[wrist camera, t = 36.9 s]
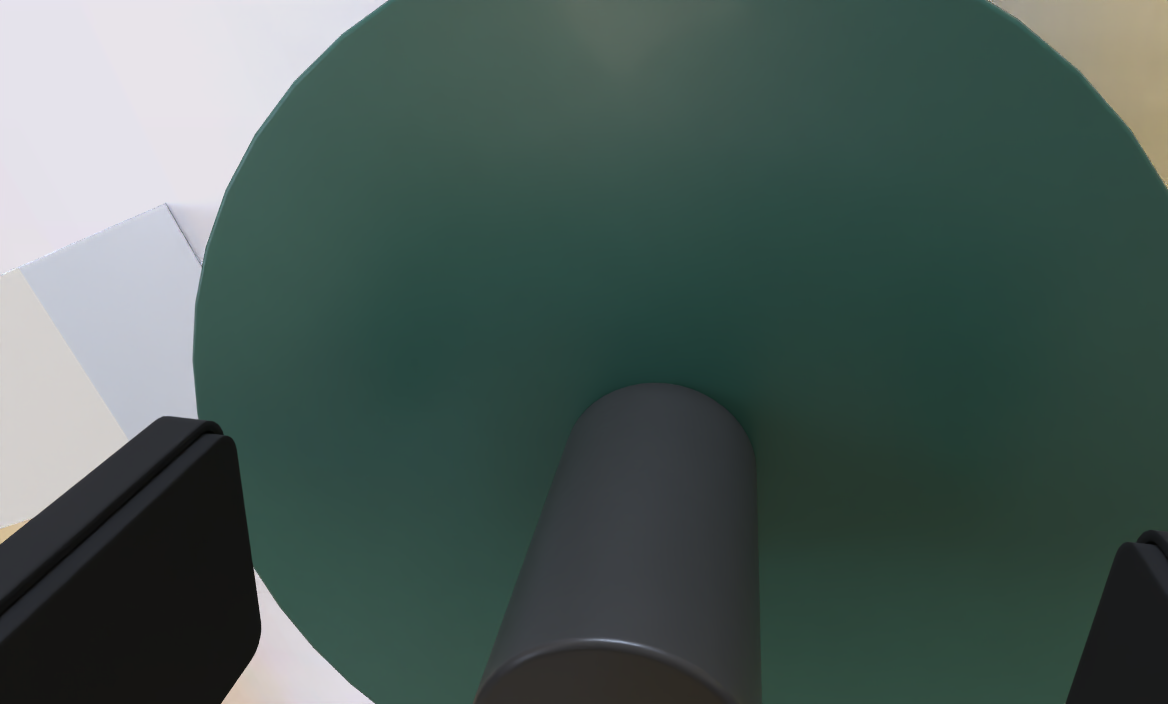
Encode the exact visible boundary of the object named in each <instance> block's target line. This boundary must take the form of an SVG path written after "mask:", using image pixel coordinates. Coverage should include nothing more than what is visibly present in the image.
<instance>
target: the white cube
mask: <svg viewBox="0 0 1168 704" xmlns="http://www.w3.org/2000/svg"><path fill="white" fill-rule="evenodd" d="M201 270H202V267H201V265H200V264H199V262H198V260H197V258H196V256H195V255H194V253H193V251H192V249H191V248H190V246H189V244H188V242H187V241H186V239H185V237H184V235H183V234H182V232H181V230H180V228H179V227H178V225H177V223H176V221H175V220H174V218H173V216H172V214H171V213H170V211H169V209H168V207H167V206H166V204H163V205H160V206H158V207H156V208H153V209H151V210H149V211H146V212H144V213H142V214H140V215H137V216H135V217H133V218H130V219H128V220H126V221H123V222H121V223H119V224H117V225H114V226H112V227H110V228H107V229H105V230H103V231H100V232H98V233H96V234H94V235H91V236H89V237H87V238H84V239H82V240H80V241H77V242H75V243H73V244H71V245H68V246H66V247H64V248H61V249H59V250H57V251H54V252H52V253H50V254H48V255H45V256H43V257H41V258H38V259H36V260H34V261H31V262H29V263H27V264H24V265H22V266H20V267H18V268H15V269H13V270H11V271H8V272H6V273H4V274H2V275H0V529H1V528H4V527H7V526H10V525H13V524H16V523H20V522H23V521H26V520H29V519H32V518H34V517H35V516H36V515H38V514H39V513H40V512H41V511H43V510H44V509H45V508H46V507H48V506H49V505H50V504H51V503H53V502H54V501H55V500H56V499H58V498H59V497H60V496H61V495H63V494H64V493H65V492H66V491H68V490H69V489H70V488H71V487H73V486H74V485H75V484H76V483H78V482H79V481H80V480H81V479H83V478H84V477H85V476H86V475H88V474H89V473H90V472H91V471H93V470H94V469H95V468H96V467H98V466H99V465H100V464H101V463H103V462H104V461H105V460H106V459H108V458H109V457H110V456H111V455H113V454H114V453H115V452H116V451H118V450H119V449H120V448H121V447H123V446H124V445H125V444H126V443H128V442H129V441H130V440H131V439H133V438H134V437H135V436H136V435H138V434H139V433H140V432H141V431H143V430H144V429H145V428H146V427H147V426H149V425H150V424H151V423H152V422H154V421H155V420H157V419H158V418H160V417H162V416H174V417H182V418H191V419H198V415H197V406H196V395H195V384H194V373H193V362H192V356H193V335H194V313H195V301H196V296H197V291H198V285H199V280H200V275H201Z"/></svg>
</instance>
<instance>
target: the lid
mask: <svg viewBox="0 0 1168 704" xmlns="http://www.w3.org/2000/svg"><path fill="white" fill-rule="evenodd" d="M192 362H193V373H194V384H195V395H196V406H197V415H198V419H200V420H208V421H214V422H216V423H217V424H219V426H220V427H221V429H222V431H223V434H224V435H226V436H229V437H231V438H232V439H233V440H234V442H235V444H236V448H237V454H238V461H239V469H240V476H241V483H242V490H243V497H244V504H245V511H246V519H247V526H248V533H249V540H250V547H251V554H252V562H253V567H254V569H255V570H256V572H257V573H258V575H259V576H260V578H261V579H262V581H263V582H264V584H265V585H266V587H267V588H268V590H269V592H270V593H271V595H272V596H273V598H274V599H275V601H276V602H277V604H278V605H279V607H280V608H281V609H282V610H283V612H284V613H285V614H286V615H287V616H288V618H289V619H290V620H291V621H292V622H293V624H294V625H295V626H296V627H297V629H298V630H299V631H300V632H301V633H302V635H303V636H304V637H305V638H306V639H307V641H308V642H309V643H310V644H311V645H312V647H313V648H314V649H315V650H316V651H317V652H318V653H319V654H320V655H321V656H322V657H323V658H325V659H326V660H327V661H328V662H329V663H330V664H331V665H332V666H333V667H334V668H335V669H336V670H337V671H338V672H339V673H340V674H341V675H342V676H343V677H344V678H345V679H346V680H347V681H348V682H349V683H350V684H351V685H353V686H354V687H355V688H356V689H358V690H359V691H360V692H361V693H363V694H364V695H365V696H366V697H368V698H369V699H370V700H371V701H373V702H374V703H375V704H1065V703H1066V700H1067V697H1068V694H1069V691H1070V688H1071V685H1072V682H1073V679H1074V676H1075V673H1076V671H1077V668H1078V665H1079V662H1080V659H1081V656H1082V653H1083V650H1084V647H1085V644H1086V641H1087V638H1088V635H1089V632H1090V629H1091V626H1092V623H1093V620H1094V617H1095V614H1096V611H1097V608H1098V605H1099V602H1100V599H1101V596H1102V593H1103V590H1104V587H1105V584H1106V581H1107V578H1108V575H1109V572H1110V569H1111V566H1112V563H1113V560H1114V557H1115V555H1116V552H1117V550H1118V548H1119V547H1120V546H1121V545H1122V544H1123V543H1125V542H1135V543H1136V541H1137V539H1138V538H1139V537H1140V535H1141V534H1142V533H1143V532H1145V531H1148V530H1158V531H1167V532H1168V189H1167V187H1166V186H1165V184H1164V183H1163V181H1162V179H1161V178H1160V176H1159V174H1158V173H1157V171H1156V170H1155V168H1154V166H1153V165H1152V163H1151V161H1150V160H1149V158H1148V157H1147V155H1146V153H1145V152H1144V150H1143V148H1142V147H1141V145H1140V144H1139V142H1138V140H1137V139H1136V137H1135V136H1134V134H1133V132H1132V131H1131V129H1130V128H1129V127H1128V126H1127V125H1126V124H1125V123H1124V121H1123V120H1122V119H1121V118H1120V117H1119V116H1118V114H1117V113H1116V112H1115V111H1114V110H1113V109H1112V108H1111V106H1110V105H1109V104H1108V103H1107V102H1106V101H1105V99H1104V98H1103V97H1102V96H1101V95H1100V94H1099V93H1098V91H1097V90H1096V89H1095V88H1094V87H1093V86H1092V84H1091V83H1090V82H1089V81H1088V80H1087V79H1086V78H1085V76H1084V75H1083V74H1082V73H1081V72H1080V71H1079V70H1078V69H1077V68H1076V67H1074V66H1073V65H1072V64H1071V63H1070V62H1068V61H1067V60H1066V59H1065V58H1064V57H1063V56H1061V55H1060V54H1059V53H1058V52H1057V51H1055V50H1054V49H1053V48H1052V47H1051V46H1049V45H1048V44H1047V43H1046V42H1045V41H1043V40H1042V39H1041V38H1040V37H1039V36H1038V35H1036V34H1035V33H1034V32H1033V31H1032V30H1030V29H1029V28H1028V27H1027V26H1026V25H1024V24H1023V23H1022V22H1021V21H1020V20H1018V19H1017V18H1016V17H1014V16H1012V15H1011V14H1009V13H1007V12H1006V11H1004V10H1002V9H1001V8H999V7H997V6H996V5H994V4H992V3H991V2H989V1H987V0H388V1H387V2H385V3H384V4H383V5H381V6H380V7H379V8H377V9H376V10H374V11H373V12H372V13H370V14H369V15H368V16H366V17H365V18H364V19H362V20H361V21H359V22H358V23H357V24H355V25H354V26H353V27H351V28H350V29H348V30H347V31H346V32H344V33H343V34H342V35H341V36H340V37H339V38H338V39H337V40H336V41H335V42H334V43H333V44H332V45H331V46H330V47H329V48H328V49H327V50H326V51H325V52H324V53H323V54H322V55H321V56H320V57H319V58H318V59H317V60H316V61H314V62H313V63H312V64H311V65H310V66H309V67H308V68H307V69H306V70H305V71H304V72H303V73H302V74H301V75H300V76H299V77H298V78H297V79H296V80H295V81H294V82H293V84H292V85H291V86H290V88H289V89H288V91H287V92H286V93H285V95H284V96H283V97H282V99H281V100H280V101H279V103H278V104H277V105H276V107H275V108H274V109H273V111H272V112H271V113H270V115H269V116H268V118H267V119H266V120H265V122H264V123H263V124H262V126H261V127H260V128H259V130H258V131H257V132H256V134H255V135H254V137H253V139H252V141H251V143H250V145H249V147H248V149H247V151H246V152H245V154H244V156H243V158H242V160H241V162H240V164H239V166H238V168H237V169H236V171H235V173H234V175H233V177H232V179H231V181H230V183H229V185H228V186H227V188H226V191H225V194H224V197H223V199H222V202H221V205H220V208H219V211H218V214H217V217H216V219H215V222H214V225H213V228H212V231H211V234H210V237H209V239H208V242H207V245H206V249H205V254H204V259H203V264H202V270H201V275H200V280H199V285H198V291H197V296H196V301H195V313H194V335H193V356H192Z"/></svg>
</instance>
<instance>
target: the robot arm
mask: <svg viewBox="0 0 1168 704" xmlns="http://www.w3.org/2000/svg"><path fill="white" fill-rule="evenodd" d="M260 635H261V619H260V612H259V604H258V597H257V590H256V583H255V576H254V569H253V562H252V554H251V547H250V540H249V533H248V526H247V519H246V511H245V504H244V497H243V490H242V483H241V476H240V469H239V461H238V454H237V448H236V444H235V442H234V440H233V439H232V438H231V437H229V436H226V435H224V434H223V431H222V429H221V427H220V426H219V424H217V423H216V422H214V421H208V420H200V419H191V418H182V417H174V416H162V417H160V418H158V419H157V420H155V421H154V422H152V423H151V424H150V425H149V426H147V427H146V428H145V429H144V430H143V431H141V432H140V433H139V434H138V435H136V436H135V437H134V438H133V439H131V440H130V441H129V442H128V443H126V444H125V445H124V446H123V447H121V448H120V449H119V450H118V451H116V452H115V453H114V454H113V455H111V456H110V457H109V458H108V459H106V460H105V461H104V462H103V463H101V464H100V465H99V466H98V467H96V468H95V469H94V470H93V471H91V472H90V473H89V474H88V475H86V476H85V477H84V478H83V479H81V480H80V481H79V482H78V483H76V484H75V485H74V486H73V487H71V488H70V489H69V490H68V491H66V492H65V493H64V494H63V495H61V496H60V497H59V498H58V499H56V500H55V501H54V502H53V503H51V504H50V505H49V506H48V507H46V508H45V509H44V510H43V511H41V512H40V513H39V514H38V515H36V516H35V517H34V518H33V519H31V520H30V521H29V522H28V523H26V524H25V525H24V526H23V527H21V528H20V529H19V530H18V531H16V532H15V533H14V534H13V535H12V536H10V537H9V538H8V539H7V540H5V541H4V542H3V543H2V544H0V704H221V703H222V701H223V700H224V698H225V697H226V696H227V694H228V693H229V691H230V690H231V688H232V687H233V686H234V684H235V683H236V681H237V680H238V678H239V677H240V675H241V674H242V673H243V671H244V670H245V668H246V667H247V665H248V664H249V662H250V661H251V660H252V658H253V656H254V654H255V652H256V650H257V647H258V644H259V640H260ZM1065 704H1168V532H1167V531H1158V530H1148V531H1145V532H1143V533H1142V534H1141V535H1140V537H1139V538H1138V539H1137V541H1136V543H1135V542H1125V543H1123V544H1122V545H1121V546H1120V547H1119V548H1118V550H1117V552H1116V555H1115V557H1114V560H1113V563H1112V566H1111V569H1110V572H1109V575H1108V578H1107V581H1106V584H1105V587H1104V590H1103V593H1102V596H1101V599H1100V602H1099V605H1098V608H1097V611H1096V614H1095V617H1094V620H1093V623H1092V626H1091V629H1090V632H1089V635H1088V638H1087V641H1086V644H1085V647H1084V650H1083V653H1082V656H1081V659H1080V662H1079V665H1078V668H1077V671H1076V673H1075V676H1074V679H1073V682H1072V685H1071V688H1070V691H1069V694H1068V697H1067V700H1066V703H1065Z"/></svg>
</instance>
